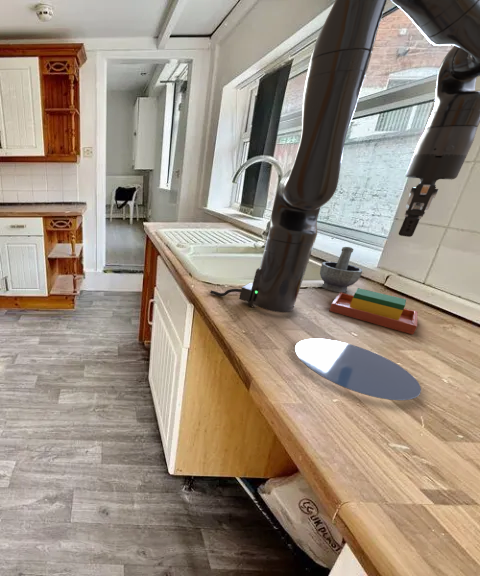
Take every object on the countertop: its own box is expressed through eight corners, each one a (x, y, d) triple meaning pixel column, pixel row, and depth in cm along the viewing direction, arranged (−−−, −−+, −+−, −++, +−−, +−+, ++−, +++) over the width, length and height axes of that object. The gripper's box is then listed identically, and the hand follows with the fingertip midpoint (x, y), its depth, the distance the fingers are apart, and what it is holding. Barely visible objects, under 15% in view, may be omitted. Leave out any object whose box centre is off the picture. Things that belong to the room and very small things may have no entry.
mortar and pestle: (353, 297, 85) (369, 256, 81) (313, 288, 91) (326, 249, 86) (353, 287, 93) (368, 248, 89) (317, 279, 99) (329, 242, 94)
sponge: (348, 309, 76) (354, 293, 74) (351, 303, 79) (358, 287, 78) (396, 323, 70) (405, 305, 68) (398, 316, 73) (406, 299, 72)
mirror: (280, 367, 53) (282, 361, 52) (305, 334, 64) (307, 329, 64) (417, 425, 42) (421, 418, 41) (418, 373, 53) (421, 367, 53)
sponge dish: (329, 310, 76) (331, 303, 75) (337, 299, 83) (340, 292, 83) (413, 334, 66) (417, 326, 65) (413, 319, 74) (417, 311, 73)
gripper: (414, 155, 68) (385, 227, 74) (413, 151, 59) (380, 234, 65) (464, 155, 64) (428, 233, 70) (471, 151, 54) (430, 241, 60)
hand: (405, 233), depth 67 cm, fingers open, 8 cm apart
